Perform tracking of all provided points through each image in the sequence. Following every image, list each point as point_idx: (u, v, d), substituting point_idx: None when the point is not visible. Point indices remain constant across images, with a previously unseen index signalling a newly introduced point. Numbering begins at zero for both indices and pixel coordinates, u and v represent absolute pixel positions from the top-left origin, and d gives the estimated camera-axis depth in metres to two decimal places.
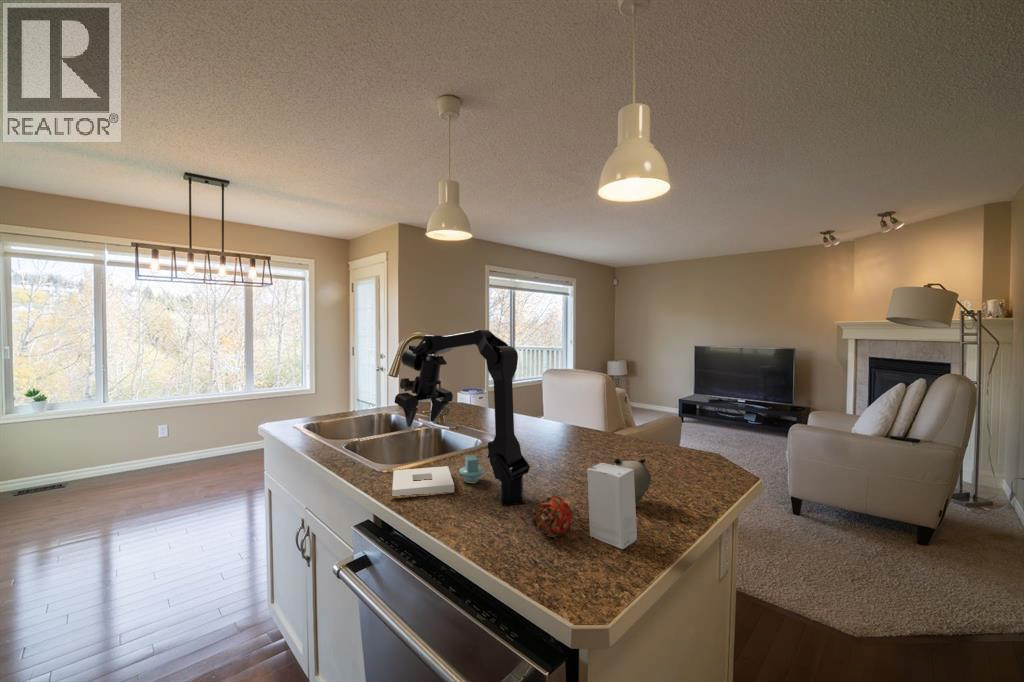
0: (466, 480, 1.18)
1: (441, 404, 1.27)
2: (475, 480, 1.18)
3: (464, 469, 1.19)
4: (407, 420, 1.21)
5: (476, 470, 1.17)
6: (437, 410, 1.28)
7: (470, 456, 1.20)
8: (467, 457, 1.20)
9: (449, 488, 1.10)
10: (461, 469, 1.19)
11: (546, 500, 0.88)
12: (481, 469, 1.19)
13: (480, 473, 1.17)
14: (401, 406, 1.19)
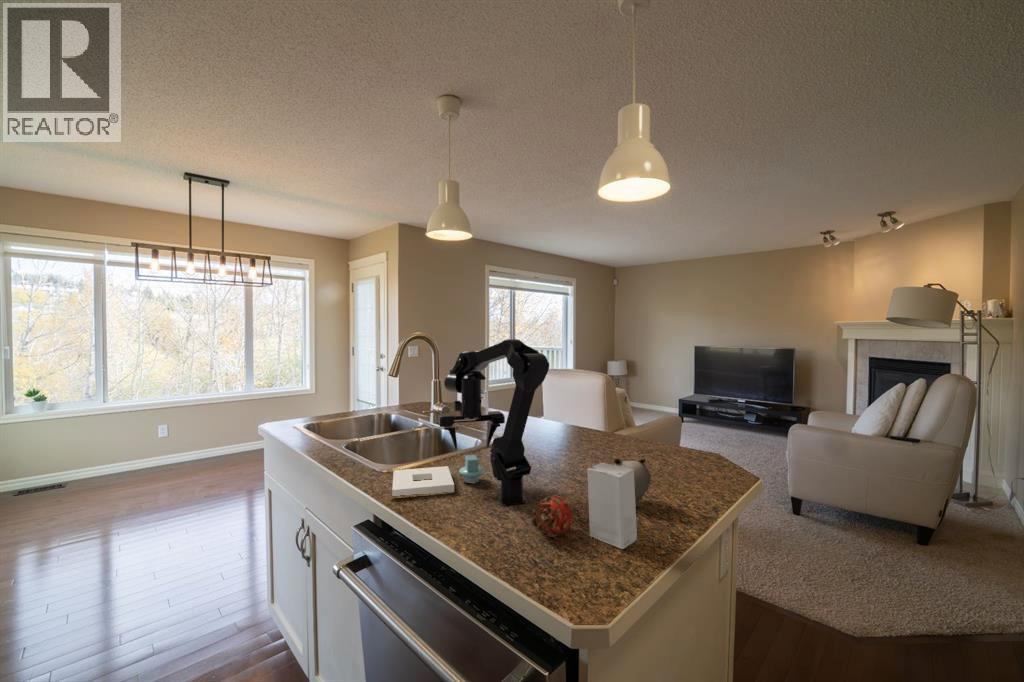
0: (466, 480, 1.18)
1: (490, 426, 1.18)
2: (475, 480, 1.18)
3: (464, 469, 1.19)
4: (453, 442, 1.18)
5: (476, 470, 1.17)
6: (488, 433, 1.19)
7: (470, 456, 1.20)
8: (467, 457, 1.19)
9: (449, 488, 1.10)
10: (461, 469, 1.19)
11: (546, 500, 0.88)
12: (481, 469, 1.19)
13: (480, 473, 1.17)
14: None
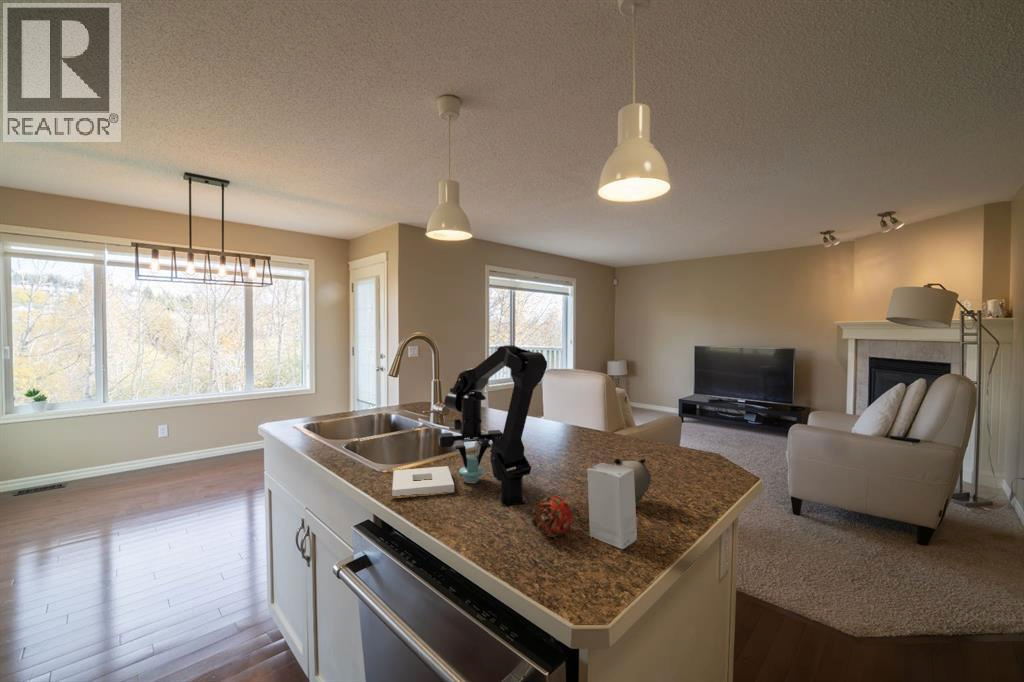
0: (466, 480, 1.18)
1: (480, 447, 1.17)
2: (475, 480, 1.18)
3: (464, 469, 1.19)
4: (463, 461, 1.19)
5: (476, 470, 1.17)
6: (478, 454, 1.18)
7: (470, 456, 1.20)
8: (467, 457, 1.20)
9: (449, 488, 1.10)
10: (461, 469, 1.19)
11: (546, 500, 0.88)
12: (481, 469, 1.19)
13: (480, 473, 1.17)
14: (453, 445, 1.19)
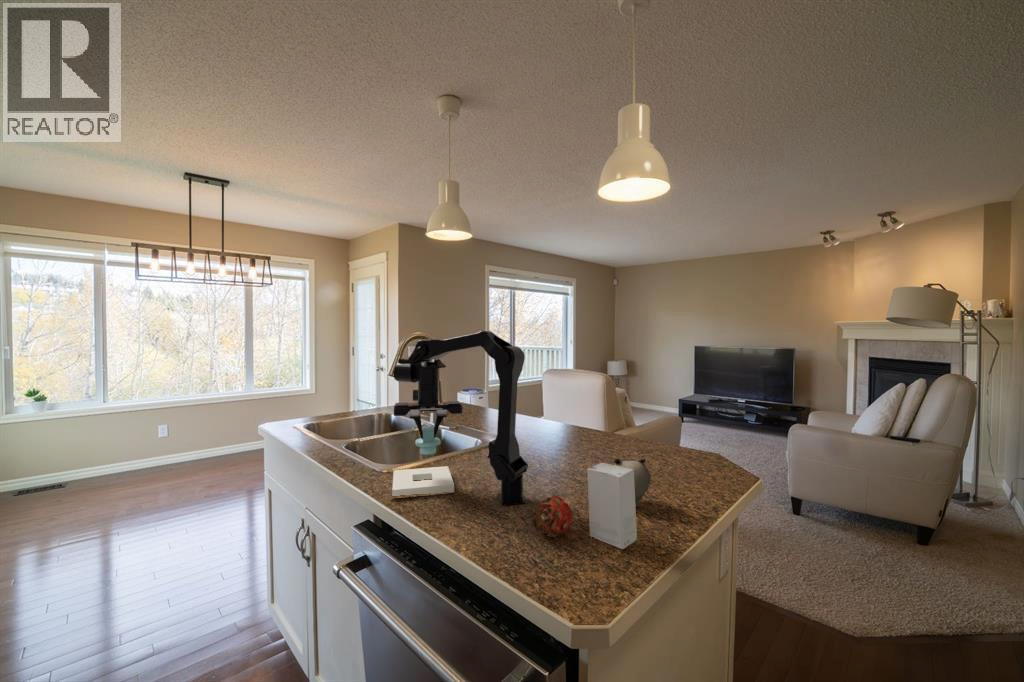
0: (422, 450, 1.15)
1: (436, 417, 1.14)
2: (431, 451, 1.15)
3: (420, 440, 1.16)
4: None
5: (432, 440, 1.14)
6: (435, 424, 1.15)
7: (427, 427, 1.17)
8: (423, 427, 1.17)
9: (449, 488, 1.10)
10: (417, 440, 1.16)
11: (546, 500, 0.88)
12: (438, 440, 1.16)
13: (436, 443, 1.14)
14: None
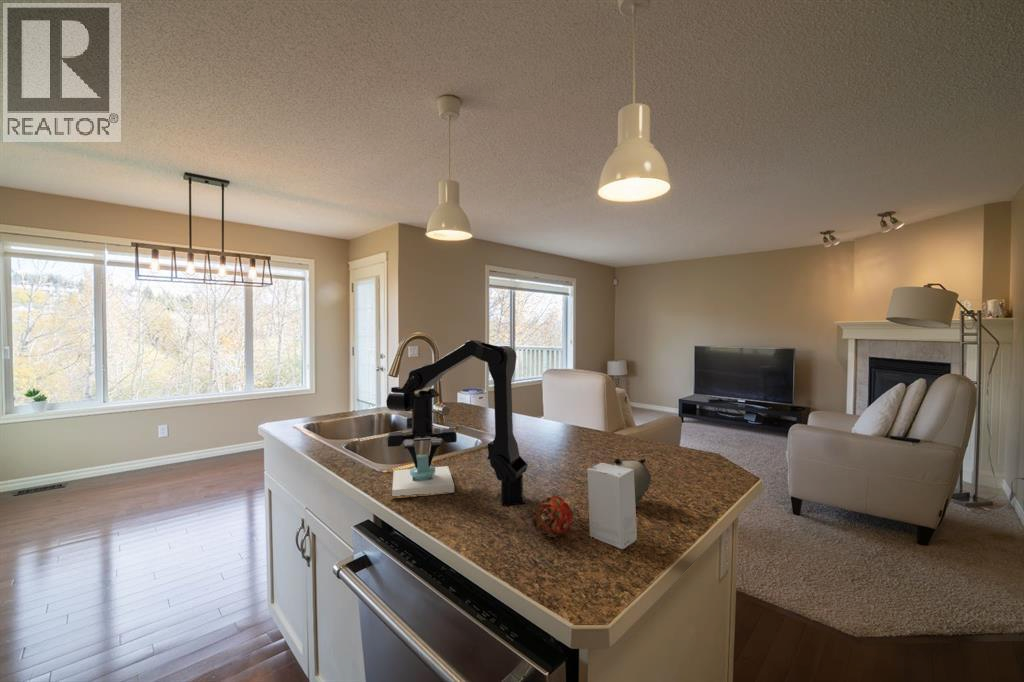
0: (416, 480, 1.14)
1: (430, 446, 1.14)
2: None
3: (415, 469, 1.16)
4: None
5: (426, 470, 1.14)
6: (429, 453, 1.15)
7: (422, 455, 1.17)
8: (418, 456, 1.16)
9: (449, 488, 1.10)
10: (412, 469, 1.16)
11: (546, 500, 0.88)
12: (432, 469, 1.16)
13: (431, 473, 1.14)
14: None
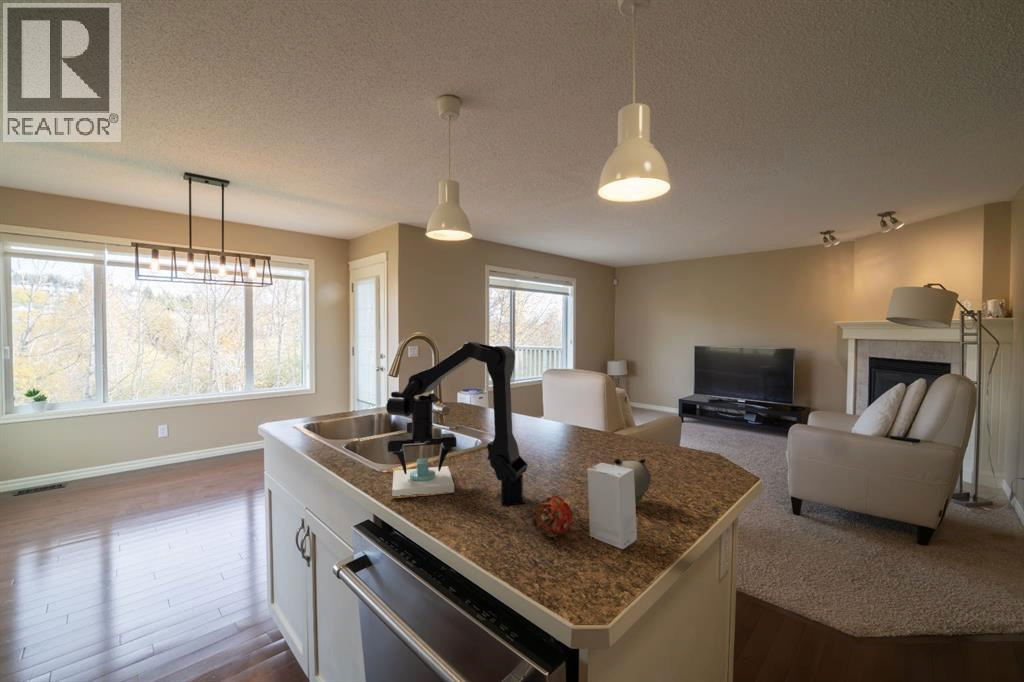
0: None
1: (441, 450, 1.15)
2: None
3: (415, 473, 1.16)
4: None
5: (426, 474, 1.14)
6: (439, 457, 1.16)
7: (422, 459, 1.17)
8: (418, 460, 1.16)
9: (449, 488, 1.10)
10: (412, 473, 1.16)
11: (546, 500, 0.88)
12: (432, 473, 1.16)
13: (430, 477, 1.14)
14: None
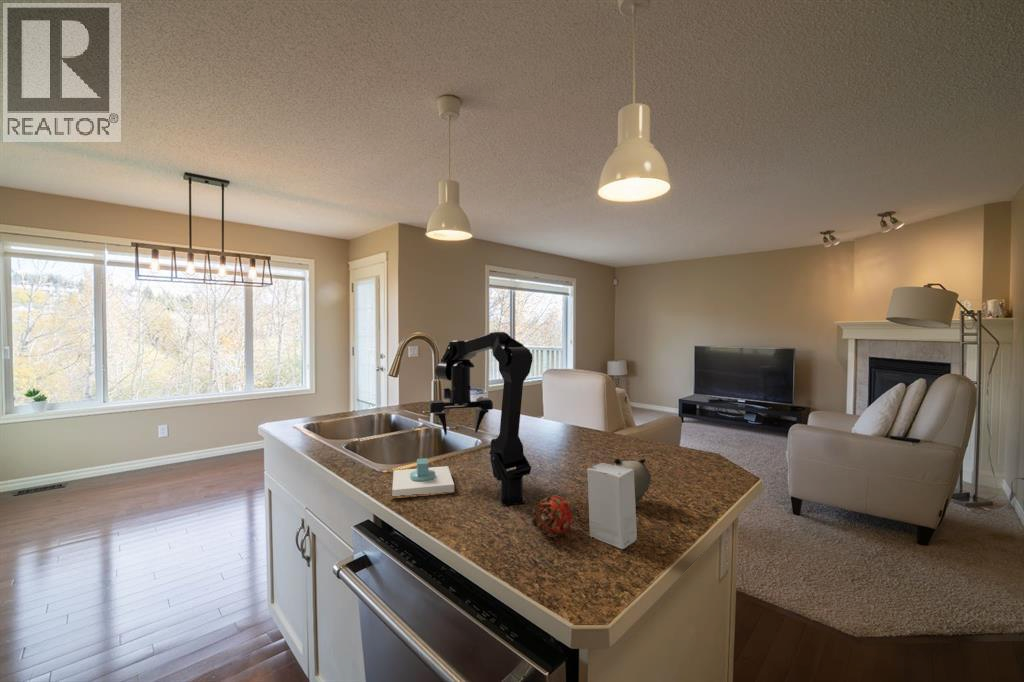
0: None
1: (479, 412, 1.23)
2: None
3: (415, 473, 1.16)
4: None
5: (426, 474, 1.14)
6: (477, 419, 1.24)
7: (422, 459, 1.17)
8: (418, 460, 1.16)
9: (449, 488, 1.10)
10: (412, 473, 1.16)
11: (546, 500, 0.88)
12: (432, 473, 1.16)
13: (430, 477, 1.14)
14: None
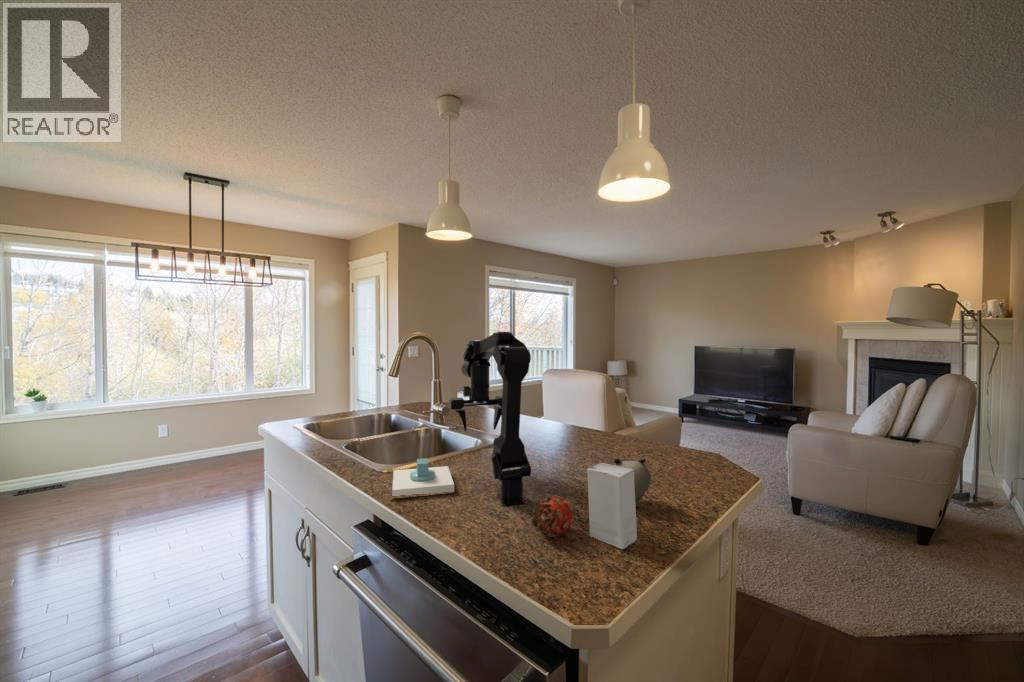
0: None
1: (497, 410, 1.27)
2: None
3: (415, 473, 1.16)
4: None
5: (426, 474, 1.14)
6: (495, 416, 1.28)
7: (422, 459, 1.17)
8: (418, 460, 1.16)
9: (449, 488, 1.10)
10: (412, 473, 1.16)
11: (546, 500, 0.88)
12: (432, 473, 1.16)
13: (430, 477, 1.14)
14: None
